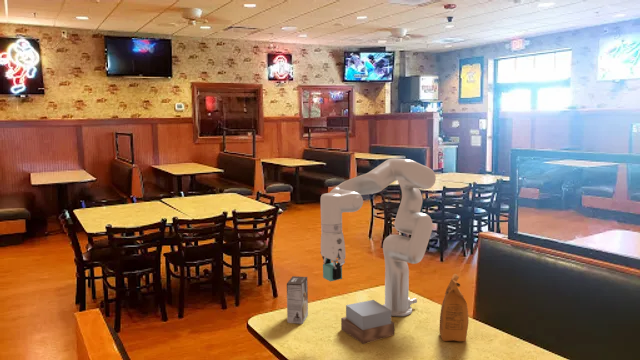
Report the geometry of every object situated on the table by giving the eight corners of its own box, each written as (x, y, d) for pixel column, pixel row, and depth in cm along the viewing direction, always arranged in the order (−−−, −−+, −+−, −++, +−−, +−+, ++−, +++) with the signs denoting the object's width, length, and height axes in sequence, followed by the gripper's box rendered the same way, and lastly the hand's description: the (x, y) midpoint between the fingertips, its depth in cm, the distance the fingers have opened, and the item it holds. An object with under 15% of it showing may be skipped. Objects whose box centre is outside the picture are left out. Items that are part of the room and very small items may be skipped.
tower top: (373, 312, 188) (373, 299, 187) (391, 323, 177) (391, 310, 177) (346, 317, 183) (346, 305, 182) (362, 330, 172) (362, 316, 171)
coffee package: (467, 330, 182) (469, 273, 179) (468, 345, 170) (469, 284, 167) (439, 327, 184) (441, 270, 182) (438, 341, 173) (440, 281, 170)
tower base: (371, 322, 190) (371, 310, 190) (394, 335, 179) (394, 322, 178) (341, 330, 183) (341, 318, 183) (363, 345, 171) (363, 331, 171)
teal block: (334, 275, 180) (334, 261, 180) (342, 278, 176) (341, 265, 176) (323, 277, 178) (322, 264, 177) (330, 281, 174) (330, 267, 173)
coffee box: (292, 313, 198) (292, 275, 197) (308, 315, 197) (307, 276, 195) (286, 323, 190) (286, 283, 188) (303, 324, 188) (302, 284, 186)
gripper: (353, 230, 169) (354, 281, 172) (328, 222, 184) (329, 268, 186) (335, 234, 165) (336, 285, 168) (310, 224, 180) (312, 272, 182)
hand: (332, 276), depth 177 cm, fingers closed on teal block, 5 cm apart
